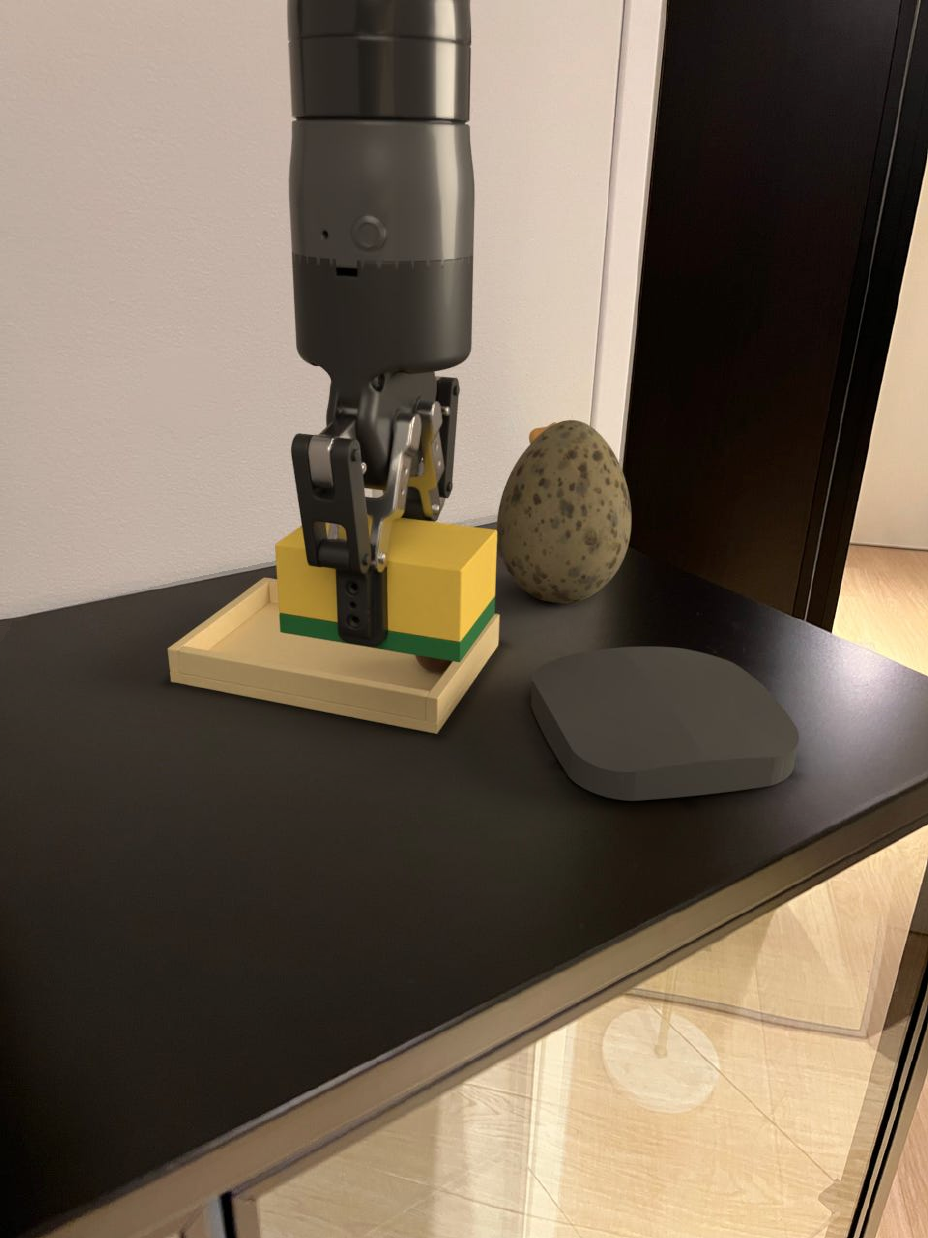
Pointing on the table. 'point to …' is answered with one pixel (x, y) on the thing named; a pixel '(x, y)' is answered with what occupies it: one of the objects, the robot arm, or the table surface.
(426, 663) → the ball
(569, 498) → the decorative egg
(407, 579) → the sponge
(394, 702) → the tray
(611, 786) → the media streaming box
